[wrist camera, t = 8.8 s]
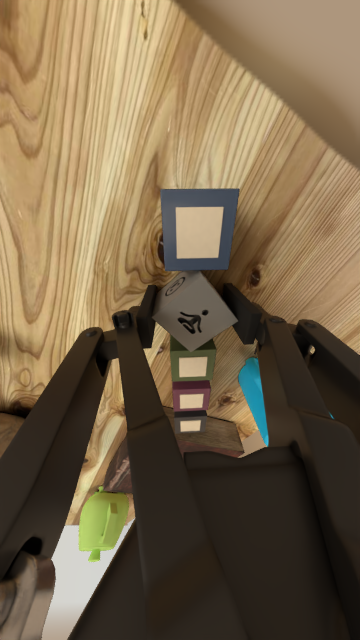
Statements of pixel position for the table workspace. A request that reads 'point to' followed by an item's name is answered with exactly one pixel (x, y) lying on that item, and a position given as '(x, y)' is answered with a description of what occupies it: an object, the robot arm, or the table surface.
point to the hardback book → (214, 439)
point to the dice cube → (192, 309)
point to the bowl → (8, 429)
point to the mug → (254, 394)
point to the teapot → (102, 522)
